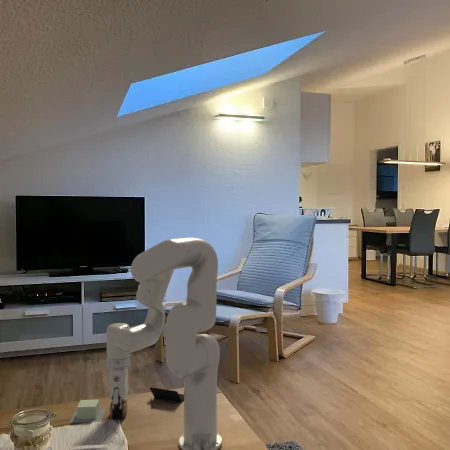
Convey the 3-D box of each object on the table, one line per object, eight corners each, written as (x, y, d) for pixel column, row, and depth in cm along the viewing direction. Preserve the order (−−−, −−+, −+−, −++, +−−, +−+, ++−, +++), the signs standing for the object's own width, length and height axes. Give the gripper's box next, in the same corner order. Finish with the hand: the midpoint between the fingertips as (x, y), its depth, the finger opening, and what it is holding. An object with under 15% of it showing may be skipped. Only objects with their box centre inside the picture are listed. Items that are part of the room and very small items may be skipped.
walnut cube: (125, 420, 150) (125, 405, 150) (109, 421, 150) (109, 406, 150) (127, 414, 155) (127, 399, 155) (112, 415, 155) (112, 400, 155)
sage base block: (95, 418, 150) (95, 406, 150) (76, 419, 149) (76, 407, 149) (99, 411, 156) (99, 399, 156) (80, 411, 155) (80, 400, 155)
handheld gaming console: (189, 390, 172) (181, 375, 167) (186, 408, 167) (178, 393, 161) (160, 392, 175) (151, 377, 169) (156, 410, 169) (147, 395, 163)
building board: (101, 423, 148) (101, 421, 148) (69, 425, 147) (69, 422, 147) (106, 410, 158) (106, 408, 158) (76, 412, 157) (76, 409, 157)
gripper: (127, 370, 144) (127, 428, 144) (132, 353, 161) (132, 406, 161) (102, 370, 143) (102, 429, 144) (110, 354, 160) (110, 406, 161)
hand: (118, 416), depth 153 cm, fingers closed on walnut cube, 5 cm apart
